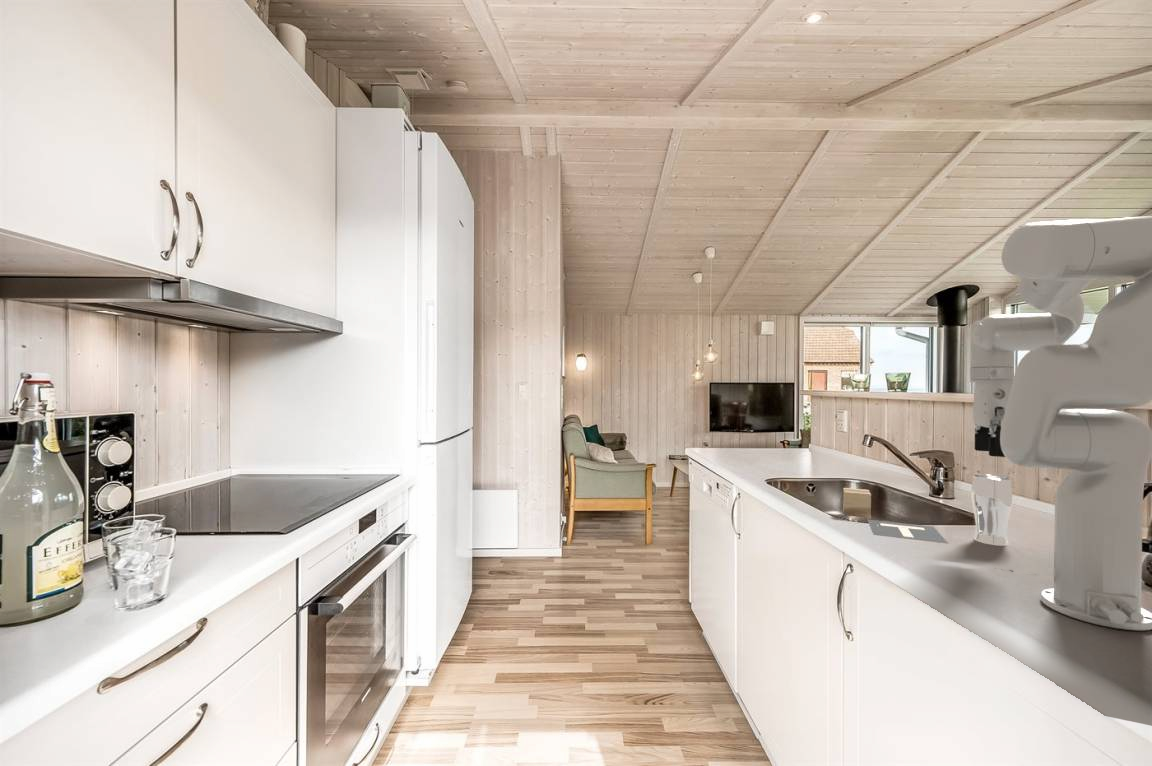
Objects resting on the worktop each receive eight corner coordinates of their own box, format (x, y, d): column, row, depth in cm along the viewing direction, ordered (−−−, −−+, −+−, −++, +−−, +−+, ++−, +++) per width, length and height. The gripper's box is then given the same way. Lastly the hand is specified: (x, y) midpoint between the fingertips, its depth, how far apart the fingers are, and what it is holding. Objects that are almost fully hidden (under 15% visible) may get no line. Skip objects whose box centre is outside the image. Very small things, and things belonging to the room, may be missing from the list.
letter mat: (948, 547, 110) (948, 543, 110) (873, 538, 116) (873, 534, 116) (933, 529, 123) (933, 526, 123) (867, 522, 128) (867, 519, 128)
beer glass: (1019, 551, 108) (1020, 480, 107) (982, 548, 109) (982, 479, 109) (999, 541, 114) (1000, 474, 114) (964, 538, 116) (965, 473, 116)
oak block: (870, 521, 130) (870, 494, 130) (844, 518, 132) (844, 491, 132) (868, 516, 135) (868, 489, 135) (843, 513, 138) (843, 487, 138)
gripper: (1029, 375, 102) (1028, 460, 102) (998, 376, 118) (998, 450, 118) (983, 375, 105) (982, 457, 105) (959, 376, 121) (958, 448, 121)
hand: (990, 453), depth 112 cm, fingers open, 9 cm apart
